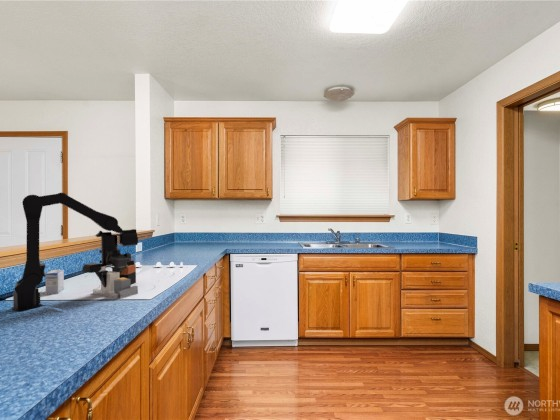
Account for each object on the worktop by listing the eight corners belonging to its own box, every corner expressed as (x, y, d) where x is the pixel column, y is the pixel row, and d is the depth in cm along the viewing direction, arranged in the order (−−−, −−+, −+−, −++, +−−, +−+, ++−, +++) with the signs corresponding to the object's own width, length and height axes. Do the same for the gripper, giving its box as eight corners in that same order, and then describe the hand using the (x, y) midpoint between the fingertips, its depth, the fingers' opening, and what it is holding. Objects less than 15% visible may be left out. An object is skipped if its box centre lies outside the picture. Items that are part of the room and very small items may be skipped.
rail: (120, 300, 117) (120, 290, 117) (93, 294, 125) (92, 286, 125) (137, 294, 124) (137, 286, 124) (111, 290, 132) (110, 281, 132)
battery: (118, 287, 136) (118, 264, 136) (127, 283, 143) (126, 261, 143) (128, 287, 136) (127, 264, 136) (136, 283, 142) (136, 261, 142)
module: (110, 291, 123) (109, 274, 123) (101, 290, 125) (100, 272, 125) (119, 289, 126) (119, 272, 126) (110, 287, 129) (110, 270, 129)
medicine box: (51, 290, 134) (51, 270, 133) (64, 289, 135) (63, 269, 135) (45, 295, 126) (44, 273, 126) (58, 293, 128) (58, 272, 128)
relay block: (121, 296, 120) (121, 280, 119) (114, 295, 122) (113, 279, 122) (130, 294, 123) (130, 277, 123) (123, 292, 125) (123, 276, 125)
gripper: (99, 251, 114) (99, 294, 114) (142, 245, 130) (143, 282, 130) (81, 249, 119) (82, 290, 119) (125, 244, 135) (126, 280, 135)
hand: (110, 285), depth 126 cm, fingers closed on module, 4 cm apart
